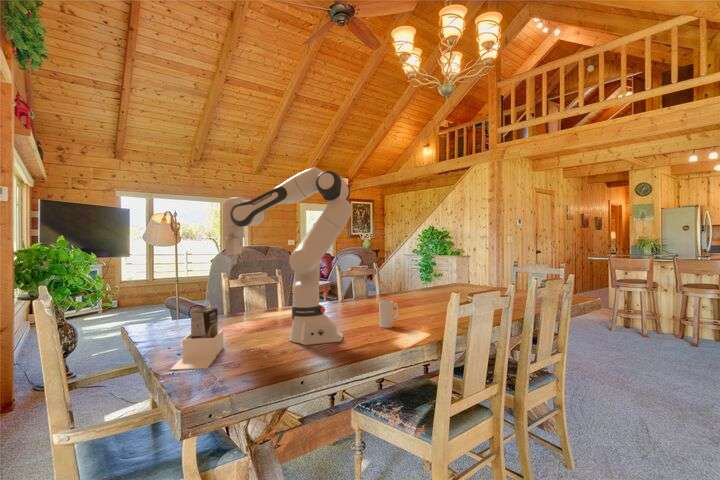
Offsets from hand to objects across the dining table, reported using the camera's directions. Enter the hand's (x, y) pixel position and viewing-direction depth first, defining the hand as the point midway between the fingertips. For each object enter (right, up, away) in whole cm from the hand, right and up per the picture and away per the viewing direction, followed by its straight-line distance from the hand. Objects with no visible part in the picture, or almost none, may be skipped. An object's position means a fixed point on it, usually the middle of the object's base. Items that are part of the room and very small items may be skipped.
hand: (234, 264), depth 176 cm
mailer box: (-1, -32, -35) cm, 47 cm away
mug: (+71, -30, +11) cm, 78 cm away
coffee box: (-2, -32, -28) cm, 42 cm away
